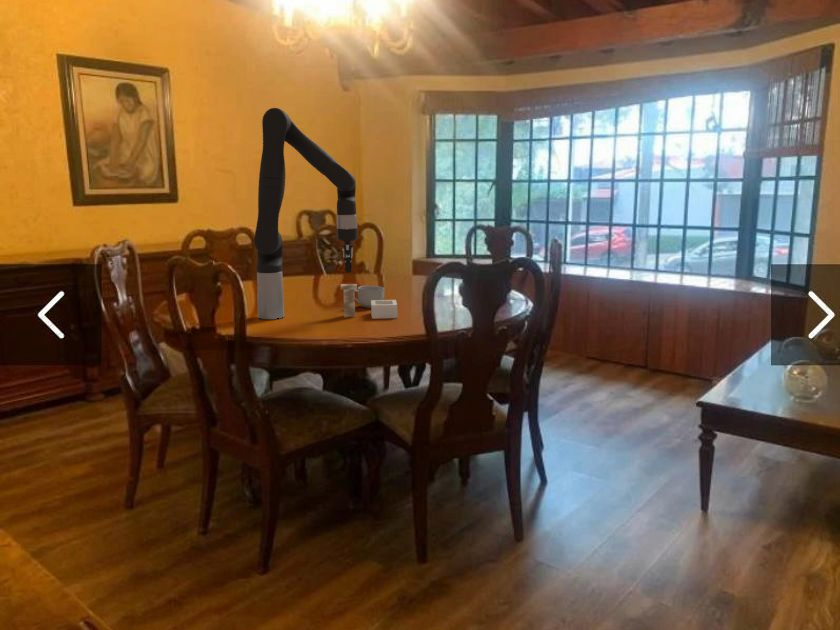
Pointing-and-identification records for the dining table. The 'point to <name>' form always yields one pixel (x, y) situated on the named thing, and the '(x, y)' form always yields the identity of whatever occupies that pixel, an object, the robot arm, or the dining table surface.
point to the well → (383, 309)
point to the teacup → (369, 295)
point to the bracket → (349, 299)
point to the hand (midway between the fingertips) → (348, 271)
